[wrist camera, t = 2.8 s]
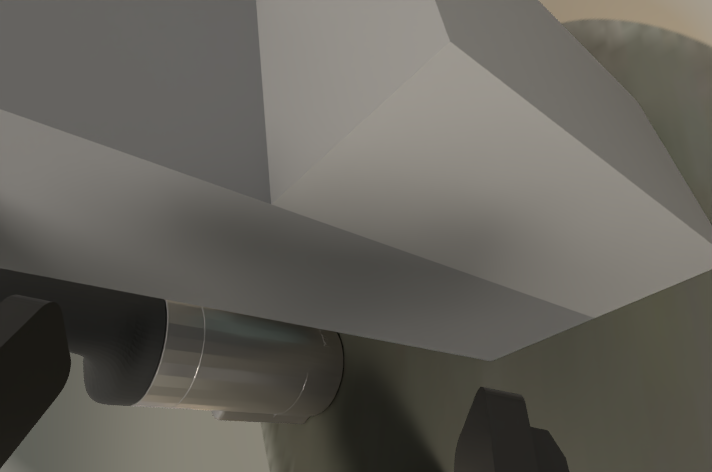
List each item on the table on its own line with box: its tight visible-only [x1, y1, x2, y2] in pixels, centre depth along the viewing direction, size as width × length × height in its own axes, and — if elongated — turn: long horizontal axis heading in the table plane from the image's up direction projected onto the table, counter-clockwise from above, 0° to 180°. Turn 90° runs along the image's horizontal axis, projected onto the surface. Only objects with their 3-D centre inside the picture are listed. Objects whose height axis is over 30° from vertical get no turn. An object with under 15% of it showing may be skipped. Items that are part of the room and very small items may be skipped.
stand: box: [0, 0, 712, 361], centre depth 25 cm, size 12×16×34 cm
